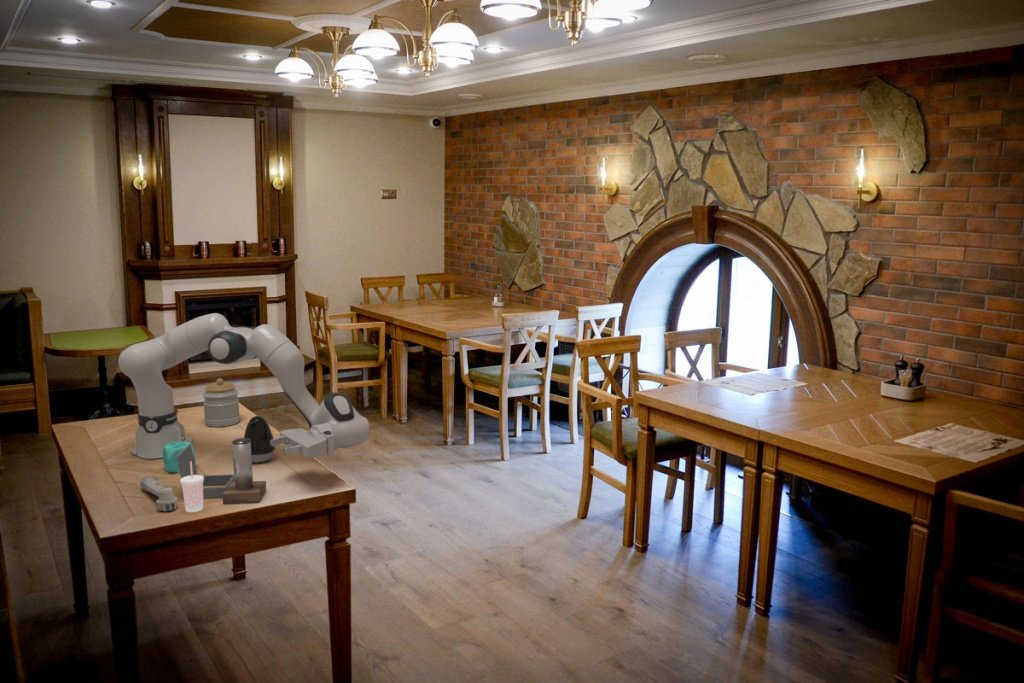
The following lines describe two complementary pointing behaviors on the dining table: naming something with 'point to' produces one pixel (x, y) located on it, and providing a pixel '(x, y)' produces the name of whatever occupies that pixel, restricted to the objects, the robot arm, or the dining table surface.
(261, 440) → the black egg-shaped speaker
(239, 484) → the steel canister
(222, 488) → the equipment case
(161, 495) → the grey flashlight
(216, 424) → the jar
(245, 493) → the walnut block
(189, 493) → the beverage cup
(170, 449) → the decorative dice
